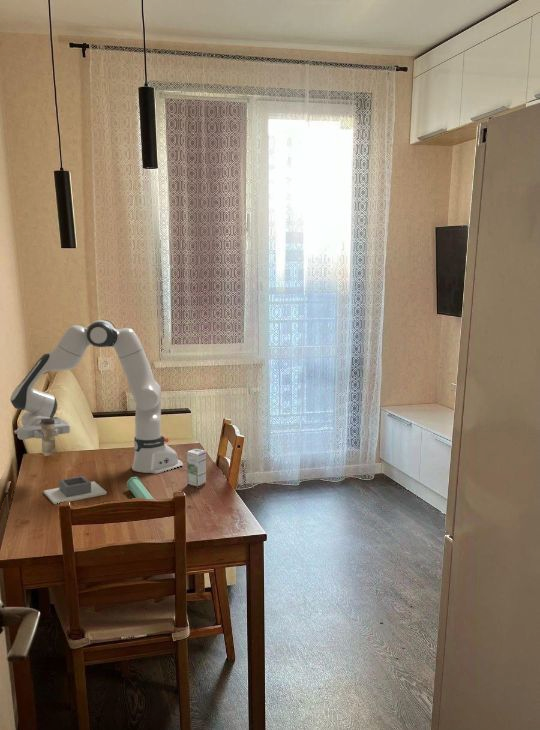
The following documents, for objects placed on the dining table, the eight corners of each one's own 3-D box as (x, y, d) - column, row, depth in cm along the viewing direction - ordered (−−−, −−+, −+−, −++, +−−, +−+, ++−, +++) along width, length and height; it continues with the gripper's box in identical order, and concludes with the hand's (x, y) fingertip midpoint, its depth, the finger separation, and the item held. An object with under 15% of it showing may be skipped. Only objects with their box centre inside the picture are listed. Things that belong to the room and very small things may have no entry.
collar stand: (94, 483, 246) (93, 471, 245) (106, 494, 235) (106, 481, 234) (43, 492, 235) (43, 480, 234) (54, 504, 223) (53, 491, 223)
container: (155, 496, 219) (137, 473, 240) (140, 504, 216) (124, 481, 238) (161, 509, 220) (143, 486, 242) (146, 517, 218) (129, 493, 240)
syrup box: (206, 484, 249) (206, 450, 247) (197, 488, 244) (197, 453, 242) (195, 481, 252) (196, 447, 250) (186, 485, 247) (186, 451, 245)
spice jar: (52, 451, 242) (51, 418, 240) (55, 454, 239) (54, 420, 237) (42, 453, 240) (41, 419, 238) (45, 456, 237) (43, 421, 234)
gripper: (12, 423, 242) (20, 430, 231) (63, 416, 254) (74, 423, 243) (13, 438, 243) (21, 446, 232) (64, 431, 255) (74, 438, 244)
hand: (48, 434), depth 237 cm, fingers closed on spice jar, 4 cm apart
